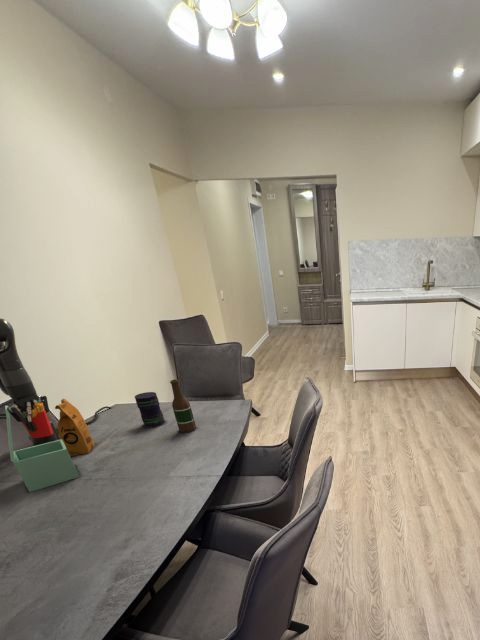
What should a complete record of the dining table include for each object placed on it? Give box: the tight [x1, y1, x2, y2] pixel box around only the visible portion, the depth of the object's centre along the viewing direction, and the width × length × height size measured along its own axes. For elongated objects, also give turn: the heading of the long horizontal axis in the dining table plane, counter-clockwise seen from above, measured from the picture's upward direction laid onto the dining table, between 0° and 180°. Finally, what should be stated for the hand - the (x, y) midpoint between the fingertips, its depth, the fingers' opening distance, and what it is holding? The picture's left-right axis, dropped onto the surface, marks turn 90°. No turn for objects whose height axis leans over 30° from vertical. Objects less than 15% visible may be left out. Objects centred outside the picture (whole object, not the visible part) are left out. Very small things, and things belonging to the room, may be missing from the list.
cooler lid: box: [0, 405, 14, 463], centre depth 135 cm, size 17×13×6 cm
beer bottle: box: [169, 379, 197, 433], centre depth 182 cm, size 8×8×24 cm
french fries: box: [18, 403, 53, 438], centre depth 140 cm, size 8×4×12 cm, turn 108°
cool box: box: [12, 438, 80, 493], centre depth 147 cm, size 16×13×12 cm
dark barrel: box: [134, 391, 166, 428], centre depth 193 cm, size 10×10×15 cm
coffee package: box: [54, 398, 95, 457], centre depth 167 cm, size 10×12×22 cm
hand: (39, 428), depth 142 cm, fingers closed on french fries, 4 cm apart
